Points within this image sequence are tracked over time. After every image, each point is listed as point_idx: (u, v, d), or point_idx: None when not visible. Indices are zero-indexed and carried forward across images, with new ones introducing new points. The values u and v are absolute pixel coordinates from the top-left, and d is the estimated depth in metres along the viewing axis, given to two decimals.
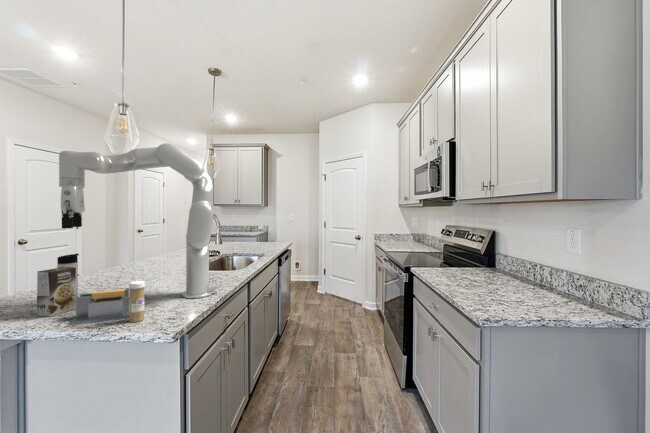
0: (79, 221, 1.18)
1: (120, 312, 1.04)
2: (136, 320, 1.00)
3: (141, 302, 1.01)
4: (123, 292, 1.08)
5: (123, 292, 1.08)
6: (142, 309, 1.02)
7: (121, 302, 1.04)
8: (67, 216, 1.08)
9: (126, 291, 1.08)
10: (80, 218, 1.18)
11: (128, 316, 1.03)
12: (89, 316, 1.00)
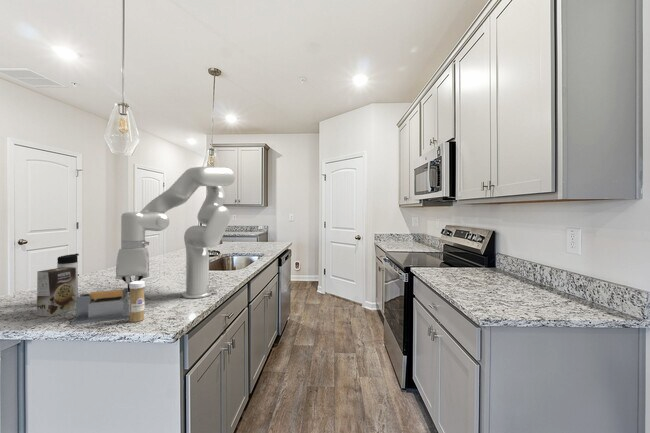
0: None
1: (120, 312, 1.04)
2: (136, 320, 1.00)
3: (141, 302, 1.01)
4: (121, 292, 1.07)
5: (121, 293, 1.08)
6: (142, 309, 1.02)
7: (121, 302, 1.04)
8: None
9: (124, 291, 1.08)
10: None
11: (128, 316, 1.03)
12: (89, 316, 1.00)
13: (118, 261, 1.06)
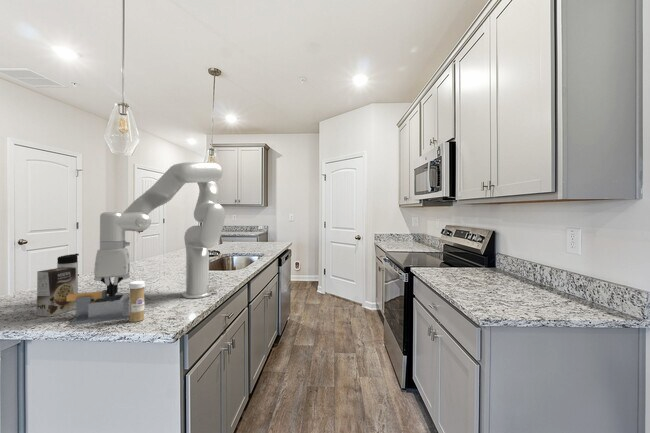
0: None
1: (120, 312, 1.04)
2: (136, 320, 1.00)
3: (141, 302, 1.01)
4: (100, 294, 1.05)
5: (100, 295, 1.05)
6: (142, 309, 1.02)
7: (121, 302, 1.04)
8: None
9: (103, 293, 1.05)
10: None
11: (128, 316, 1.03)
12: (89, 316, 1.00)
13: (96, 262, 1.03)
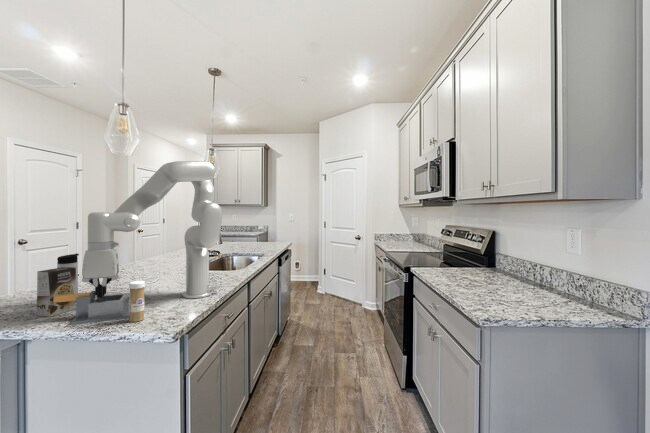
0: None
1: (120, 312, 1.04)
2: (136, 320, 1.00)
3: (141, 302, 1.01)
4: (88, 295, 1.03)
5: None
6: (142, 309, 1.02)
7: (121, 302, 1.04)
8: None
9: (91, 294, 1.03)
10: None
11: (128, 316, 1.03)
12: (89, 316, 1.00)
13: (84, 263, 1.02)
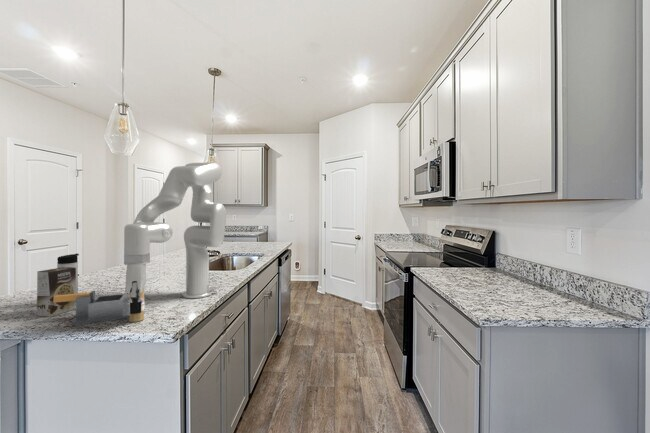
0: None
1: (120, 312, 1.04)
2: (136, 320, 1.00)
3: (141, 302, 1.01)
4: (88, 295, 1.03)
5: None
6: (142, 309, 1.02)
7: (121, 302, 1.04)
8: None
9: (91, 294, 1.03)
10: None
11: (128, 316, 1.03)
12: (89, 316, 1.00)
13: (142, 277, 0.99)
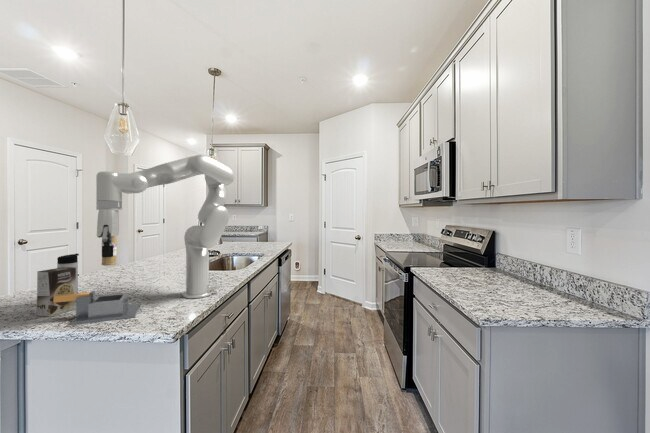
0: None
1: (120, 312, 1.04)
2: (108, 264, 1.05)
3: (113, 247, 1.06)
4: (88, 295, 1.03)
5: None
6: (114, 254, 1.06)
7: (121, 302, 1.04)
8: None
9: (91, 294, 1.03)
10: None
11: (128, 316, 1.03)
12: (89, 316, 1.00)
13: (113, 221, 1.03)
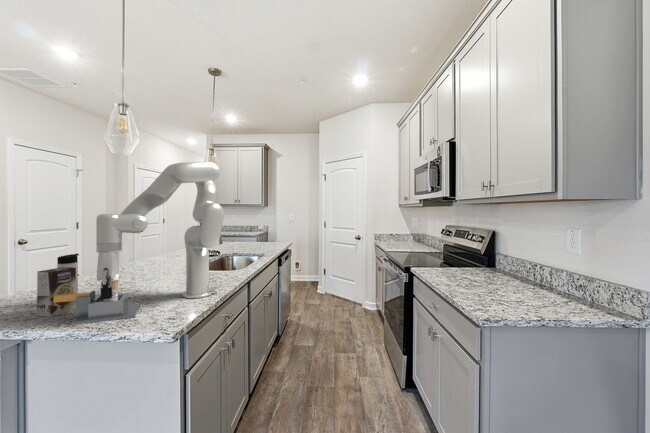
0: None
1: (120, 312, 1.04)
2: None
3: (114, 294, 1.06)
4: (88, 295, 1.03)
5: None
6: None
7: (121, 302, 1.04)
8: None
9: (91, 294, 1.03)
10: None
11: (128, 316, 1.03)
12: (89, 316, 1.00)
13: (113, 264, 1.04)
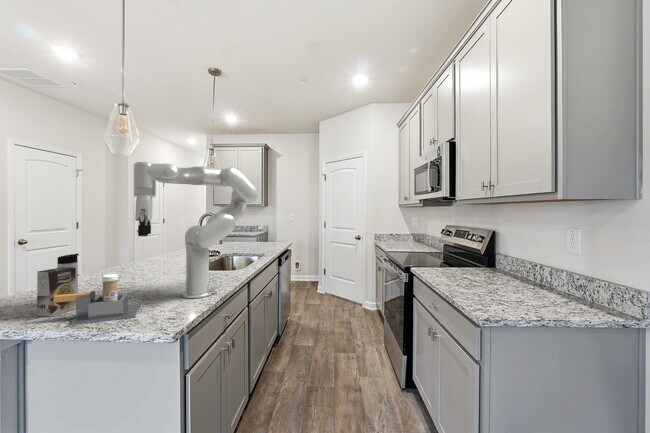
0: None
1: (120, 312, 1.04)
2: None
3: (113, 294, 1.06)
4: (88, 295, 1.03)
5: None
6: None
7: (121, 302, 1.04)
8: None
9: (91, 294, 1.03)
10: None
11: (128, 316, 1.03)
12: (89, 316, 1.00)
13: (149, 206, 1.16)
